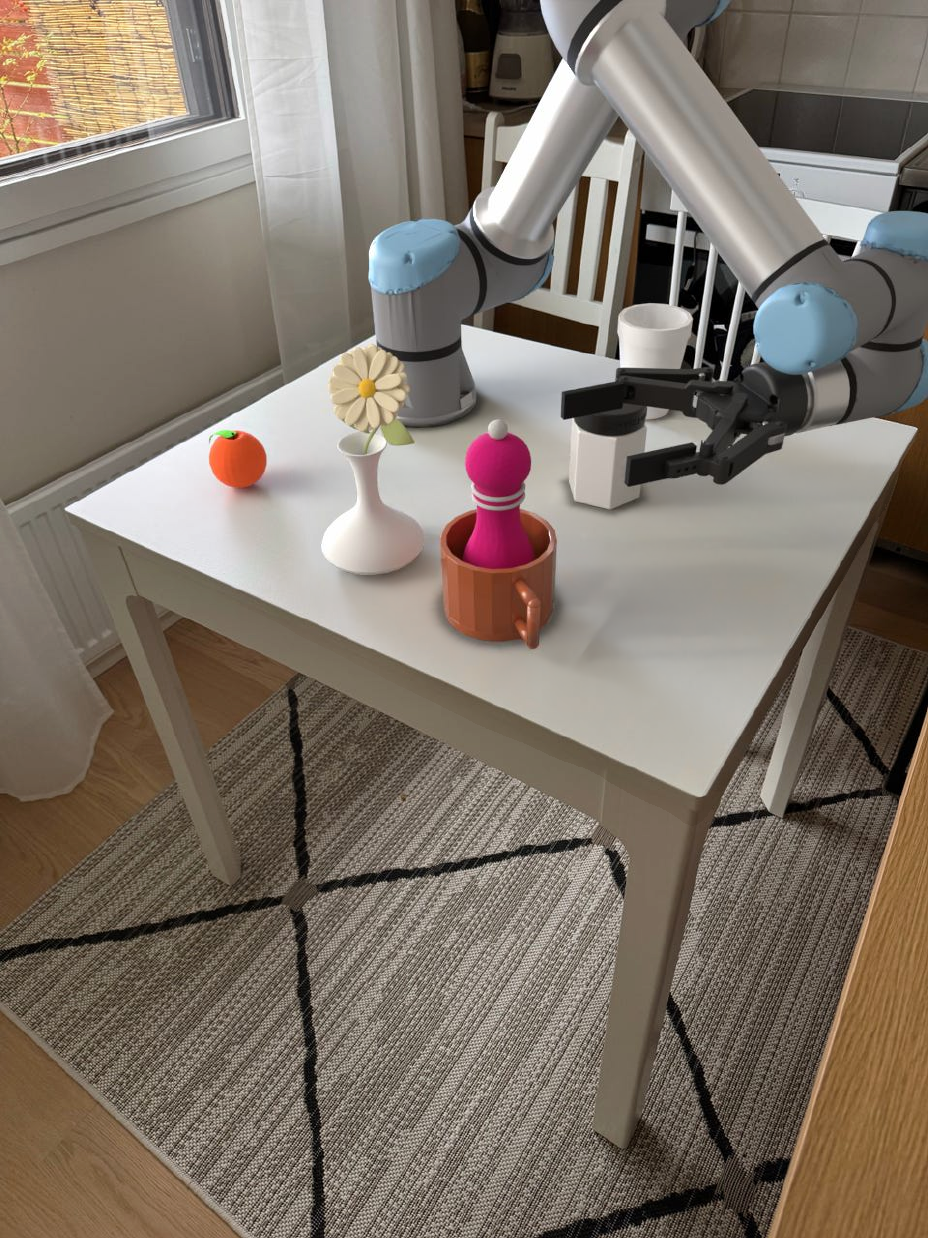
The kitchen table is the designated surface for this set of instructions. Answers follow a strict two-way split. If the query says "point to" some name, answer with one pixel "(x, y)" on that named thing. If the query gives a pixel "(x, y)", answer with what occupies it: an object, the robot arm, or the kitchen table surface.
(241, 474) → the clementine
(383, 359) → the flower in vase
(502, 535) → the pepper mill
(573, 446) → the jar
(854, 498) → the kitchen table surface
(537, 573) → the terracotta coffee mug
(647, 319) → the foam cup
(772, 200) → the robot arm
